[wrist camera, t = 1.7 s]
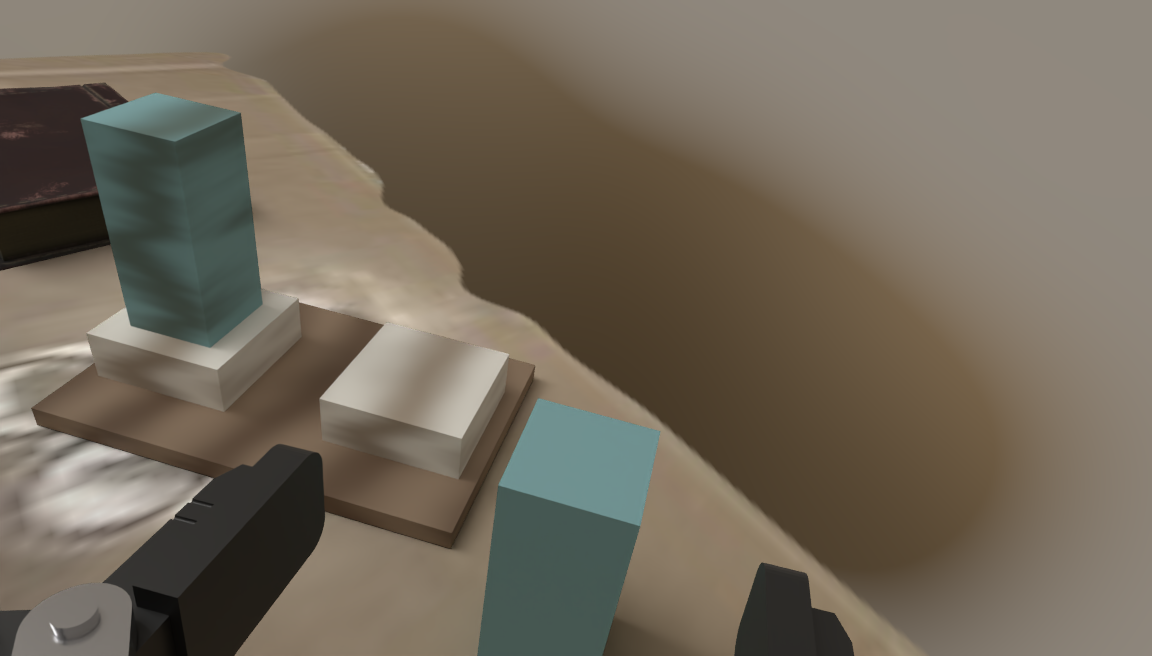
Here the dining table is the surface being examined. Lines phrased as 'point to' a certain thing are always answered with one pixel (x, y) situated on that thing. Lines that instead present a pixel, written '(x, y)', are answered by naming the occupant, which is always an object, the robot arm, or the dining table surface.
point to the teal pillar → (564, 532)
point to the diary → (49, 173)
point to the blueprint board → (287, 426)
